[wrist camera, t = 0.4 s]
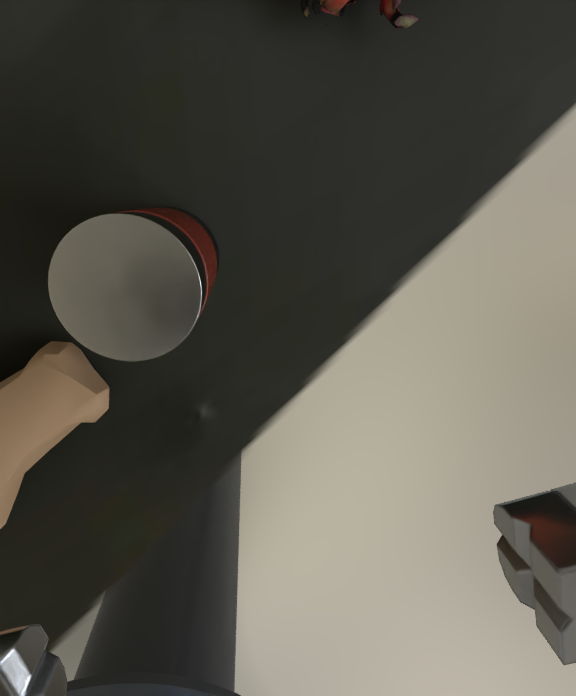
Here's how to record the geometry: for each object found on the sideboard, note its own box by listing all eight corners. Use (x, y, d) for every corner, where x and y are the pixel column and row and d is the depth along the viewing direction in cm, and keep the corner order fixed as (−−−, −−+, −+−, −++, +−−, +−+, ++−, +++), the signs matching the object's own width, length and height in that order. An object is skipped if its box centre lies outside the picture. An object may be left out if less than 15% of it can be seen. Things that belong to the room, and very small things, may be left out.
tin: (239, 258, 29) (234, 293, 18) (174, 323, 30) (134, 390, 19) (167, 184, 27) (116, 176, 17) (100, 255, 28) (12, 289, 18)
